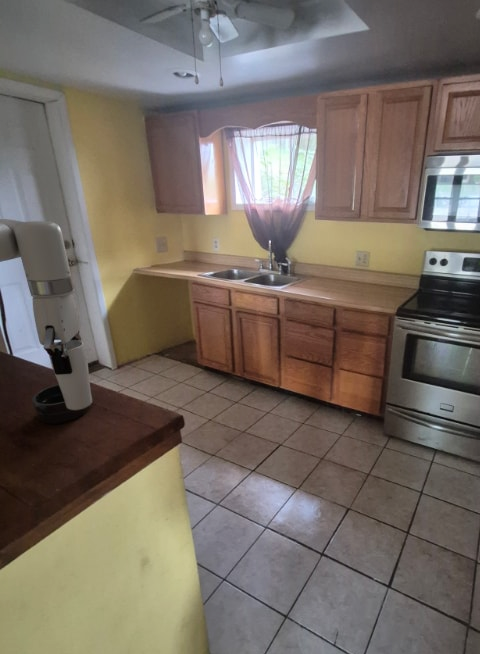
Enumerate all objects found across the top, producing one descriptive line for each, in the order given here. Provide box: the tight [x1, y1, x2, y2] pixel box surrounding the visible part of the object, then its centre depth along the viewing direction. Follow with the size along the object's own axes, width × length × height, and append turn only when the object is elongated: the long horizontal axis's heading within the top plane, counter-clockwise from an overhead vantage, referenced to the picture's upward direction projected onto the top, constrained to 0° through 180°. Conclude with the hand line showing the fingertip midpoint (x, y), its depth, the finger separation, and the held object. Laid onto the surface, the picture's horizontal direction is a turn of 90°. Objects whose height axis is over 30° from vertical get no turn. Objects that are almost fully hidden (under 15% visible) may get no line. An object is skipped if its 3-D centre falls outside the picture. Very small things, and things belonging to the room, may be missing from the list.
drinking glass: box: [49, 340, 93, 410], centre depth 83 cm, size 7×7×15 cm
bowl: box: [31, 383, 90, 425], centre depth 93 cm, size 11×11×6 cm
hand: (70, 365), depth 82 cm, fingers closed on drinking glass, 6 cm apart
